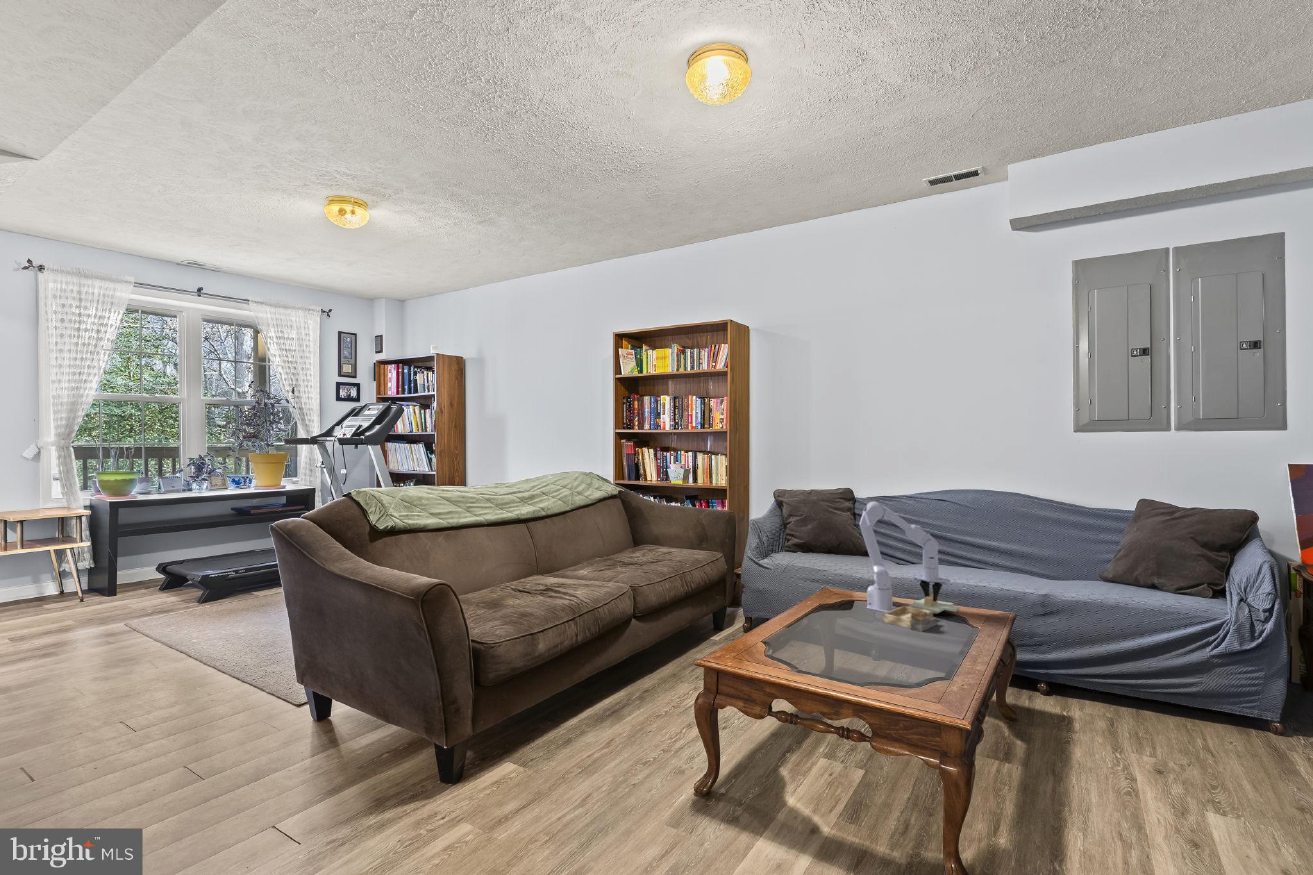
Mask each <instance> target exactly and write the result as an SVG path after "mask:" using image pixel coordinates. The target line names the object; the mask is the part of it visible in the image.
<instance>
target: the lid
mask: <svg viewBox="0 0 1313 875" xmlns="http://www.w3.org/2000/svg"><path fill="white" fill-rule="evenodd" d="M938 599H939V597H938V598H937V601H936V602H934V601H933V594H929V596H927V597H925V596H924V598H921V599H919V600H917V601H914V602H913V603H910V604H908V607H913V608H918V609H923V610H928V611H933V614H939V613H942V612H943V611H949V612H953V613H954V612H957V611H959V610H960V607H959V606H954V604H955V603H953V602H947V601H940V600H938Z"/></svg>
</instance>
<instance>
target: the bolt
mask: <svg viewBox="0 0 1313 875" xmlns="http://www.w3.org/2000/svg"><path fill="white" fill-rule="evenodd" d="M911 618H912V619H916V620H921V621H922V620H925V619H927V612H923V611H918V610H916V611H914V612H911Z"/></svg>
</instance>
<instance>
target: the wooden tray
mask: <svg viewBox="0 0 1313 875" xmlns="http://www.w3.org/2000/svg"><path fill="white" fill-rule="evenodd" d="M916 610H918V611H923V612H927V619H925V620H922V621H921V620H916V619H912V618H911V612H914V611H916ZM937 620H938V619H937V617H935V616H934V613H933V611H928V610H923V609H918V608H913V607H908V606H907V605H902V606H899V607H897V608H896V609H894V610H891V611H889V612H883V613H882V623H886V624H891V625H894V626H899V627H902V628H903V627H904V628H907V629H910V630H911V631H917V632H921V633H922V632H925V631H927V630H929V629H931V628H933V627H935V626H937Z"/></svg>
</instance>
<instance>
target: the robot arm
mask: <svg viewBox="0 0 1313 875" xmlns="http://www.w3.org/2000/svg"><path fill="white" fill-rule="evenodd" d="M881 519H883V520H889V521H891V522H892V523H894V524H895V525H896V526H898V527H899V528H901V529H902V530H903V531H904V532H905V536H906V537H907V538H908V539H910V540H911V541H913V542H914V543H915V544H917V545H918V546H921V548H922V575H919V574H913V575H912V576H911V580H912V581H917V582H919V586H920V587H921V590H922V592H923V594H924V598H925V597H927V596H930V587H931V589H932V595H933V601H934V602H936V601H937V598H938V599H939V593H940V592H941V589H942V587H943V585H944V586H951V579H946V578H943V577H940V576H939V556H938V551H939V550H940V545H939V544H940V543H939V542H938V541H937V540H936V539H935V538H934V537H933V536H931V535H932V534H930V533H927V532H926V531H924V530H923V529H922V527H921V526H920V525H916V524H909V522H907V521H905V519H903V518H902V517H901V516H899V515H898V514H897V513H895V512H894V511H893V510H892V509H889V508H888V507H886V506H884V505H883V504H882V505H881V504H880V503H879V502H878V501H875V500H873V501H869V502H868V503H866V505H865V507H864V508H863V511H862V514H861V518H860V521H859V527H860V530H861V534H862V537H863V539H864V545H865V546H866V550H867V553H868V555H869V559H870V562H871V565H872V569H873V576H872V577H873V580H874V582H875V583H874V584H873V585H869V586H868V587H867V590H866V600H867V601H866V603H867V606H866V608H867V609H870V610H874V611H878V612H882V611H883V613H886V612H889V611H891V610H894V609H896V608H898V607H897V606H894V605H893V586H892V583H893V581H892V577H891V576H890V574H889V572H888V571H887V569H886V566H885V562H884V561H883V557H882V555H881V551H880V547H879V545H878V541H877V538H876V535H875V532H874V525H875V524H876V522H877V521H878V520H881ZM930 584H931V586H930Z"/></svg>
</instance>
